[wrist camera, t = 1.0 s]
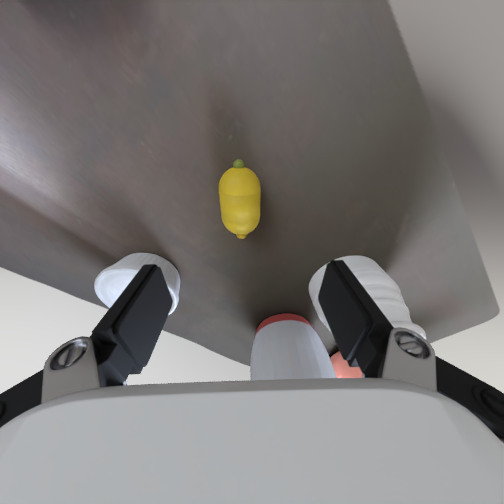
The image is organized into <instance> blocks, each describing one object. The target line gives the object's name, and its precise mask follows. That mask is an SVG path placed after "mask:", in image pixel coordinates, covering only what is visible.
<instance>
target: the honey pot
mask: <svg viewBox="0 0 504 504" xmlns="http://www.w3.org/2000/svg"><path fill="white" fill-rule="evenodd" d="M335 260H343V261H344V262H345V263H346V265H347V266H348V267H349V269H350V270H351V271H352V273H353V274H354V275H355V277H356V278H357V279H358V281H359V282H360V283H361V285H362V286H363V287H364V288H365V290H366V291H367V292H368V294H369V295H370V296H371V298H372V299H373V300H374V302H375V303H376V304H377V306H378V307H379V308H380V310H381V311H382V312H383V314H384V315H385V316H386V318H387V319H388V320H389V322H390V323H391V324H392V326H393V327H394V328H398V327H401V328H407V329H409V330H412V331H414V332H416V333H418V334H419V335H421V336H422V337H423V338H425V339H426V333H425V331H424V330H423V329H422V328H421V327H420V326H419V325H416V324H414V323H412V322H411V319H410V313H409V309H408V307H407V306H406V305H405V302H404V299H403V297H402V295H401V291H400V288H399V287H398V285H397V284H396V283H395V282H394V281H393V280H392V279H391V278H390V277H389V276H388V275H387V273H386V272H385V271H384V270H383V269H382V268H381V267H380V266H379V265H378V264H377V263H376V262H375V261H374V260H372V259H370V258H368V257H364V256H359V255H355V256H345V257H341V258H337V259H335ZM329 263H330V262H329ZM327 264H328V263H327ZM327 264H325V265H324V266H323V267H321V268H320V269H319V270H318V271H317V272H316V273H315V274H314V275H313V277H312V279H311V280H310V282H309V288H308V289H309V294H310V297H311V300H312V302H313V305H314V308H315V309H316V312H317V315H318V317H319V319H320V320H321V322H322V323H323V324H324V325H326V327H327V328H328V329H329V331H330V332H331V330H330V327H329V325H328V323H327V320H326V318H325V315H324V313H323V311H322V308H321V306H320V304H319V301H318V295H319V291H320V287H321V284H322V280H323V277H324V273H325V270H326V266H327ZM331 333H332V332H331ZM332 335H333V334H332Z"/></svg>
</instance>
